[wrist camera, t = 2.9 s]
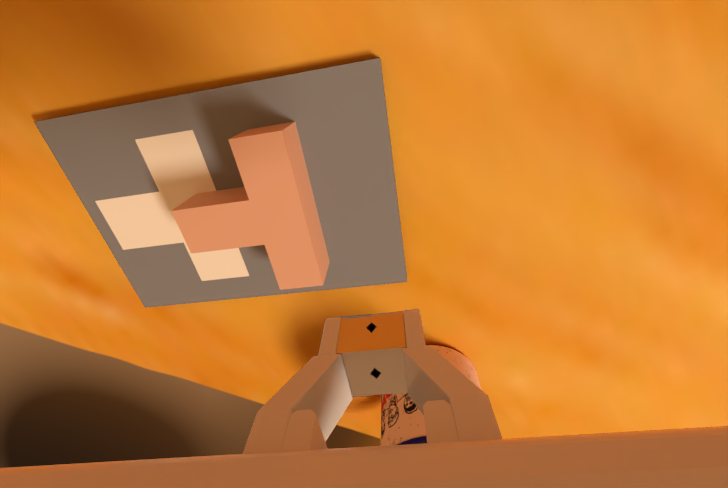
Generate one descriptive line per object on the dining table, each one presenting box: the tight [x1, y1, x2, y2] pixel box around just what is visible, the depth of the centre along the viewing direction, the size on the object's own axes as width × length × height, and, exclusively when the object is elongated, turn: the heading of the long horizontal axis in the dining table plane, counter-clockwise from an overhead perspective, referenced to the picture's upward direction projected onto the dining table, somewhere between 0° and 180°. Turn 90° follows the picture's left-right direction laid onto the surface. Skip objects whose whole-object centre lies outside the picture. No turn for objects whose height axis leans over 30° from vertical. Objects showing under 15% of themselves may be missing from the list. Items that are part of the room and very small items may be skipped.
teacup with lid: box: [381, 345, 481, 446], centre depth 27 cm, size 12×9×12 cm
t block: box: [171, 122, 330, 290], centre depth 22 cm, size 8×10×3 cm
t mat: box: [34, 58, 407, 308], centre depth 23 cm, size 22×15×1 cm
